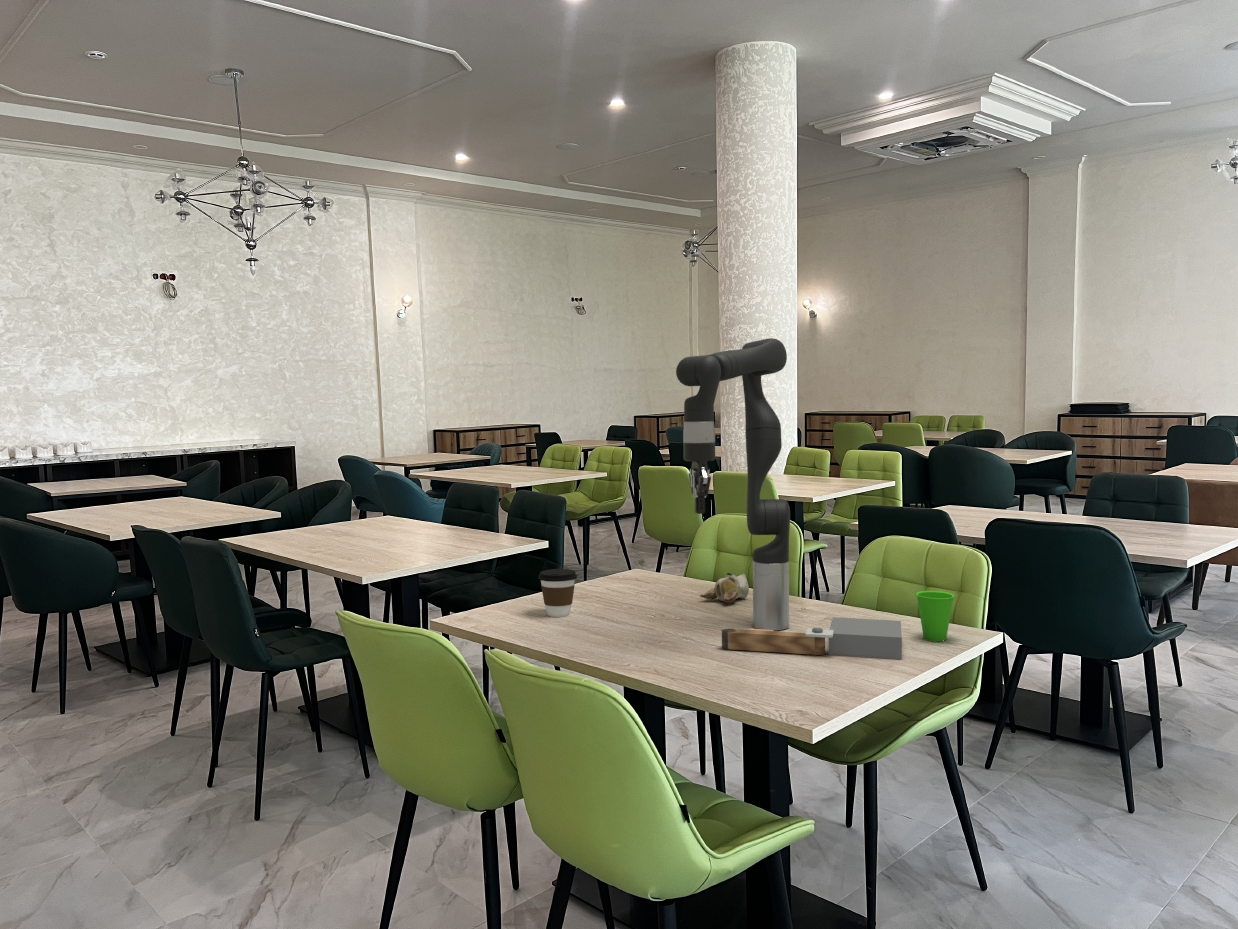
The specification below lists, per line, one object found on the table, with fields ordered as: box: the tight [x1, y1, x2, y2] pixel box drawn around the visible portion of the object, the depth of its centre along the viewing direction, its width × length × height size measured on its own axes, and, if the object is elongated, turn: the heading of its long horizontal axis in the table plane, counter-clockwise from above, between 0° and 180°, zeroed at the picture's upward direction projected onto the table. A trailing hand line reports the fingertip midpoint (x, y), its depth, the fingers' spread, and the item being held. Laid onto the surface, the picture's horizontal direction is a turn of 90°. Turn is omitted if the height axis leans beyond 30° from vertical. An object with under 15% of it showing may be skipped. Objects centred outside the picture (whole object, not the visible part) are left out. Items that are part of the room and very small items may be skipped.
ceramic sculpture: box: [699, 572, 750, 604], centre depth 260 cm, size 11×9×15 cm
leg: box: [721, 628, 826, 656], centre depth 206 cm, size 24×4×4 cm, turn 73°
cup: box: [915, 590, 956, 642], centre depth 215 cm, size 9×9×11 cm
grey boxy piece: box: [747, 616, 903, 660], centre depth 210 cm, size 18×35×6 cm, turn 73°
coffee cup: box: [537, 568, 578, 618], centre depth 246 cm, size 11×11×12 cm
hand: (699, 513), depth 211 cm, fingers closed
